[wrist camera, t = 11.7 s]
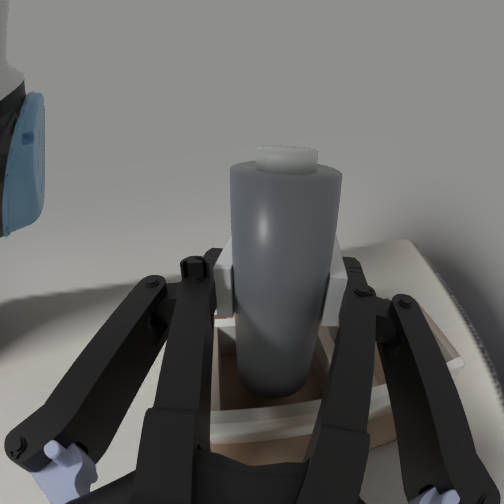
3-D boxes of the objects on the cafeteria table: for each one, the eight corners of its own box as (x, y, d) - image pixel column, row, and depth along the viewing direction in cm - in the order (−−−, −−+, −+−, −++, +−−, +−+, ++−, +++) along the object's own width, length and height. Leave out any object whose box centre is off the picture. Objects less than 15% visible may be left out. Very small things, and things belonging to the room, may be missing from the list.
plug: (240, 402, 14) (231, 156, 8) (235, 347, 18) (228, 143, 12) (315, 393, 14) (364, 160, 8) (299, 342, 18) (320, 145, 12)
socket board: (208, 475, 12) (197, 456, 10) (206, 324, 24) (202, 288, 22) (454, 411, 14) (481, 380, 12) (385, 306, 26) (395, 273, 24)
